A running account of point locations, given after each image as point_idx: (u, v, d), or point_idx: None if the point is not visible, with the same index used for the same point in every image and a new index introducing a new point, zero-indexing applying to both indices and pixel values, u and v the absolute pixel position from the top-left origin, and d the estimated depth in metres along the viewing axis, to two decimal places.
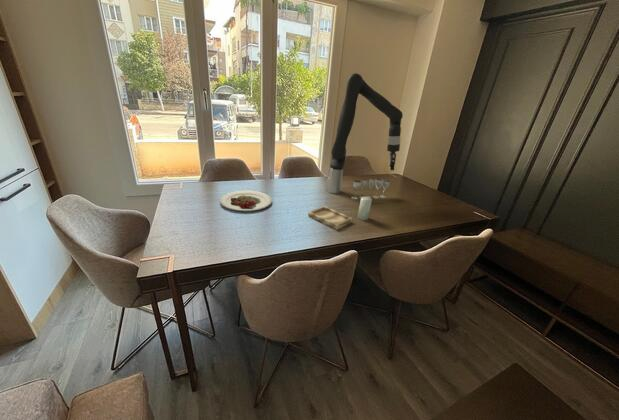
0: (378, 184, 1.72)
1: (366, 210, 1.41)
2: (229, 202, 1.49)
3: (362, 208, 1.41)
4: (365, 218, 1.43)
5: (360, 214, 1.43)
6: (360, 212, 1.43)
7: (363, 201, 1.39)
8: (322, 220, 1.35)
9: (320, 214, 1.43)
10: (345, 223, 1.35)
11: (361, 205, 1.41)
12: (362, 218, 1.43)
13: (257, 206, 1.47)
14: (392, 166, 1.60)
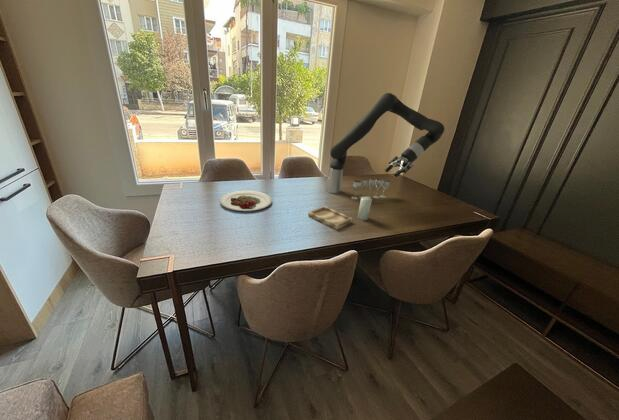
0: (378, 184, 1.72)
1: (366, 210, 1.41)
2: (229, 202, 1.49)
3: (362, 208, 1.41)
4: (365, 218, 1.43)
5: (360, 214, 1.43)
6: (360, 212, 1.43)
7: (363, 201, 1.39)
8: (322, 220, 1.35)
9: (320, 214, 1.43)
10: (345, 223, 1.35)
11: (361, 205, 1.41)
12: (362, 218, 1.43)
13: (257, 206, 1.47)
14: (399, 173, 1.34)
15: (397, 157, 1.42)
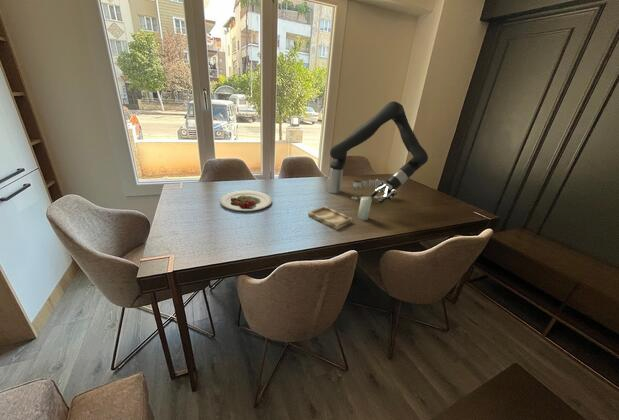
0: None
1: (366, 210, 1.41)
2: (229, 202, 1.49)
3: (362, 208, 1.41)
4: (365, 218, 1.43)
5: (360, 214, 1.43)
6: (360, 212, 1.43)
7: (363, 201, 1.39)
8: (322, 220, 1.35)
9: (320, 214, 1.43)
10: (345, 223, 1.35)
11: (361, 205, 1.41)
12: (362, 218, 1.43)
13: (257, 206, 1.47)
14: (384, 199, 1.38)
15: (383, 183, 1.47)
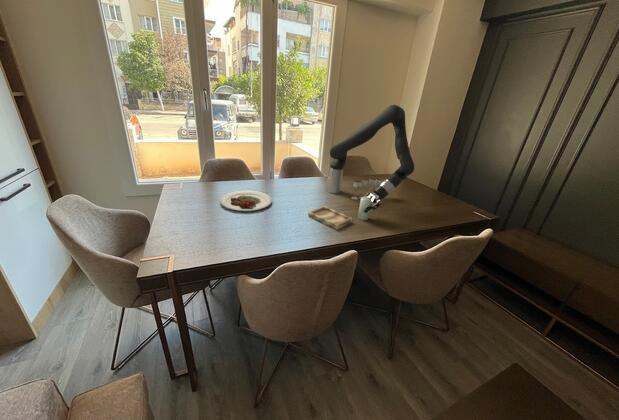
0: (378, 184, 1.72)
1: None
2: (229, 202, 1.49)
3: (362, 208, 1.41)
4: (365, 218, 1.43)
5: (360, 214, 1.43)
6: (360, 212, 1.43)
7: (363, 201, 1.39)
8: (322, 220, 1.35)
9: (320, 214, 1.43)
10: (345, 223, 1.35)
11: (361, 205, 1.41)
12: (362, 218, 1.43)
13: (257, 206, 1.47)
14: (368, 209, 1.39)
15: (369, 192, 1.47)
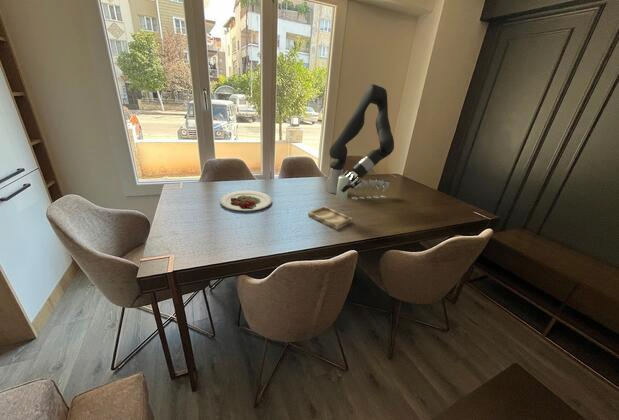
0: (378, 184, 1.72)
1: None
2: (229, 202, 1.49)
3: (340, 187, 1.31)
4: (343, 198, 1.34)
5: (338, 194, 1.33)
6: (338, 192, 1.33)
7: (340, 180, 1.30)
8: (322, 220, 1.35)
9: (320, 214, 1.43)
10: (345, 223, 1.35)
11: (339, 184, 1.32)
12: (340, 198, 1.34)
13: (257, 206, 1.47)
14: (346, 188, 1.30)
15: (348, 171, 1.38)
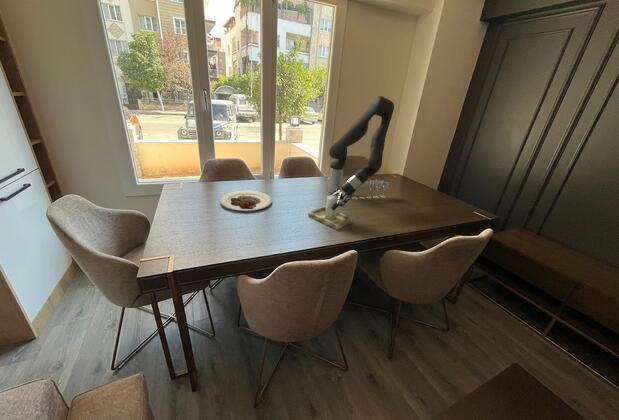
0: (378, 184, 1.72)
1: None
2: (229, 202, 1.49)
3: (328, 207, 1.35)
4: (332, 218, 1.37)
5: (327, 214, 1.37)
6: (326, 211, 1.37)
7: (328, 200, 1.34)
8: (322, 220, 1.35)
9: (320, 214, 1.43)
10: (345, 223, 1.35)
11: (327, 204, 1.35)
12: (329, 218, 1.37)
13: (257, 206, 1.47)
14: (336, 206, 1.32)
15: (338, 188, 1.41)
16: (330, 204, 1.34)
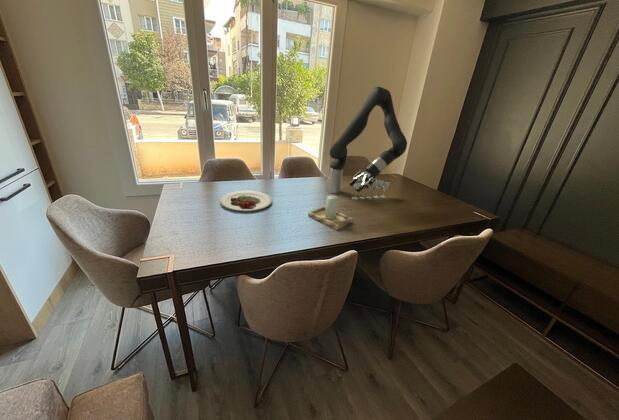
0: (378, 184, 1.72)
1: (332, 209, 1.35)
2: (229, 202, 1.49)
3: (328, 207, 1.35)
4: (332, 218, 1.37)
5: (326, 214, 1.37)
6: (326, 211, 1.37)
7: (328, 200, 1.34)
8: (322, 220, 1.35)
9: (320, 214, 1.43)
10: (345, 223, 1.35)
11: (327, 204, 1.35)
12: (329, 218, 1.37)
13: (257, 206, 1.47)
14: (361, 188, 1.32)
15: (362, 171, 1.40)
16: (330, 204, 1.34)
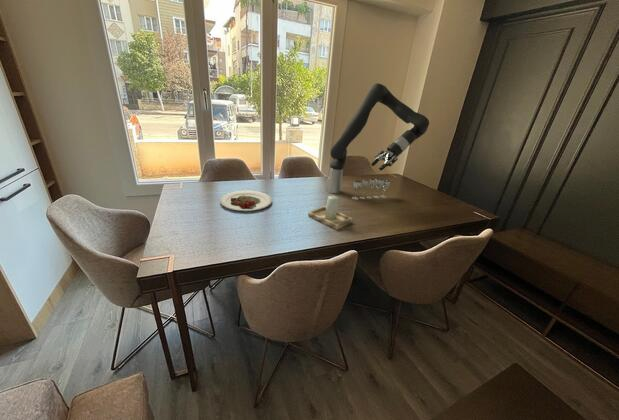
0: (378, 184, 1.72)
1: (332, 209, 1.35)
2: (229, 202, 1.49)
3: (328, 207, 1.35)
4: (332, 218, 1.37)
5: (327, 213, 1.37)
6: (327, 211, 1.37)
7: (329, 200, 1.34)
8: (322, 220, 1.35)
9: (320, 214, 1.43)
10: (345, 223, 1.35)
11: (327, 204, 1.35)
12: (328, 218, 1.37)
13: (257, 206, 1.47)
14: (384, 166, 1.35)
15: (383, 151, 1.43)
16: (330, 204, 1.34)
